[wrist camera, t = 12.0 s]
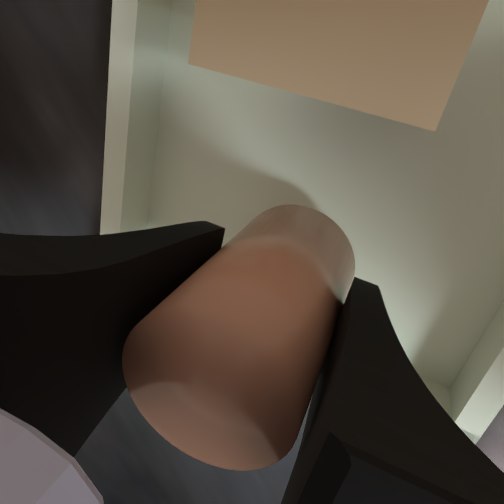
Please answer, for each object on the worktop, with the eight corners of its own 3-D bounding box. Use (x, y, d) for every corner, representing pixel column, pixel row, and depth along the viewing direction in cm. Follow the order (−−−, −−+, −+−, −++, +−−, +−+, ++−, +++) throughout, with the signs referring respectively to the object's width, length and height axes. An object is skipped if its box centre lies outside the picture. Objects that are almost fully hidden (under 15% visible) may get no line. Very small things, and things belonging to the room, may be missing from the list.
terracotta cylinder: (377, 239, 12) (334, 380, 7) (324, 331, 13) (259, 498, 8) (262, 183, 12) (140, 274, 7) (226, 279, 14) (109, 406, 9)
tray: (810, -137, 8) (932, -201, 6) (463, 404, 15) (468, 454, 13) (178, -209, 11) (126, -267, 9) (132, 265, 18) (97, 288, 16)
